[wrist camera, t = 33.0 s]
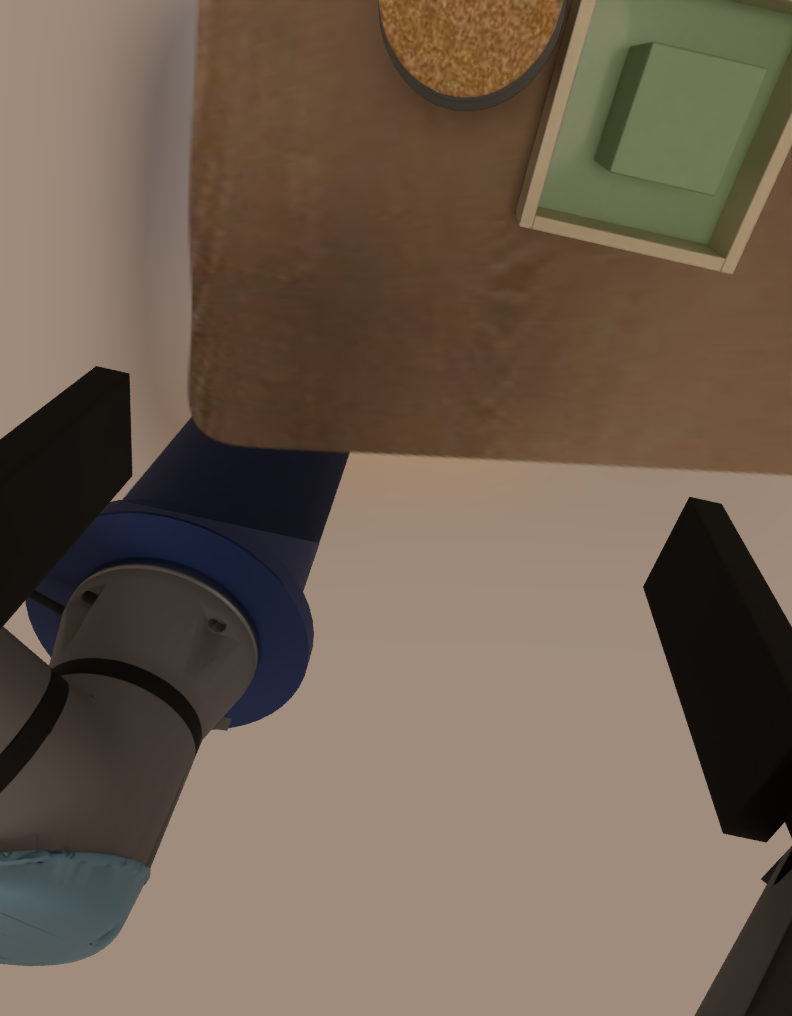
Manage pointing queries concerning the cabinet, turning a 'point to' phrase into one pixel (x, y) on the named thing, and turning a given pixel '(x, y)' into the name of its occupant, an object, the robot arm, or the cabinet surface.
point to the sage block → (678, 116)
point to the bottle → (470, 46)
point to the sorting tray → (638, 203)
